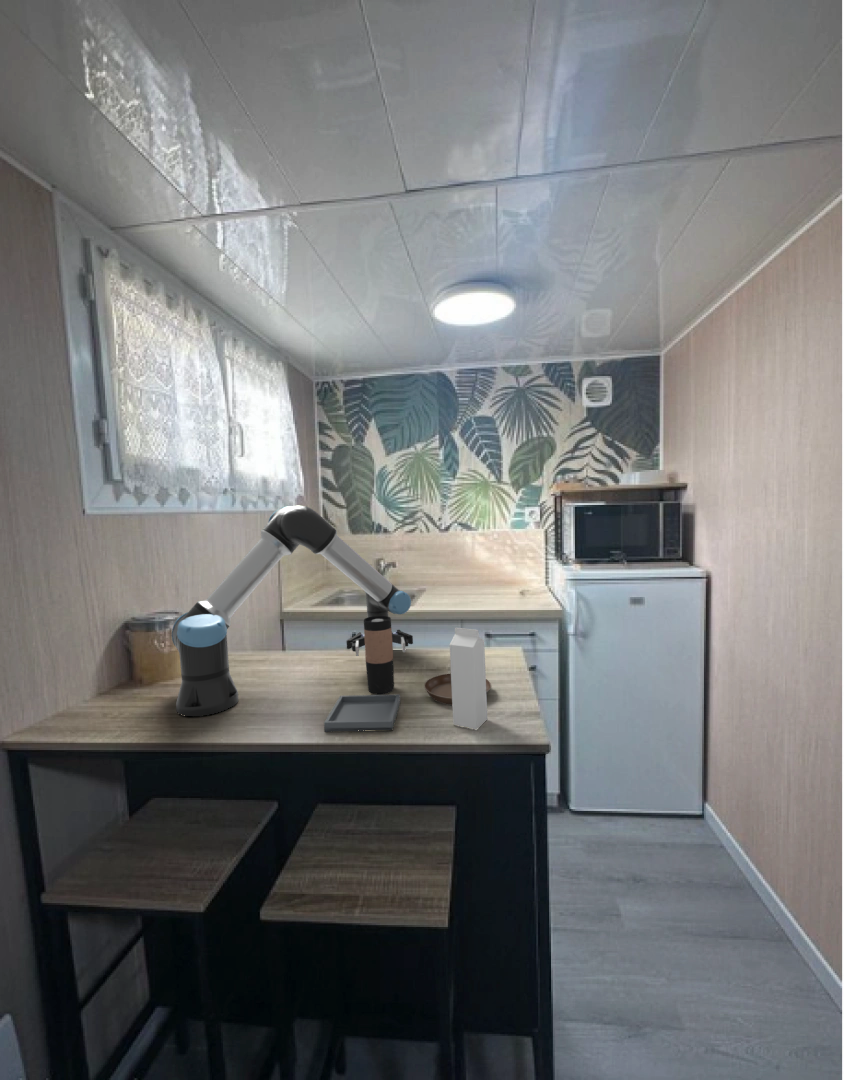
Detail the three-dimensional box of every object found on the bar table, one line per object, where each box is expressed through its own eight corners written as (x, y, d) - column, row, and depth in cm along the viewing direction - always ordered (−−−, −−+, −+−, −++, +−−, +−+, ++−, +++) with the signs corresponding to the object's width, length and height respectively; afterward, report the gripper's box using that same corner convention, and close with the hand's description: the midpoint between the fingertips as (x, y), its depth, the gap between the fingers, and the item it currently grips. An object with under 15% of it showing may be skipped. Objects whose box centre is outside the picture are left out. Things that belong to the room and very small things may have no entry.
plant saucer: (502, 689, 131) (501, 678, 131) (472, 714, 116) (471, 702, 116) (446, 679, 141) (445, 668, 140) (411, 701, 126) (411, 689, 126)
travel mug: (361, 690, 134) (357, 619, 133) (383, 682, 140) (380, 614, 138) (378, 697, 129) (374, 623, 127) (400, 689, 134) (396, 618, 132)
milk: (464, 715, 115) (460, 624, 114) (488, 720, 112) (484, 626, 111) (452, 725, 110) (448, 630, 109) (477, 731, 107) (472, 632, 106)
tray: (324, 731, 110) (324, 722, 110) (340, 703, 126) (340, 695, 125) (392, 730, 109) (391, 721, 109) (400, 702, 125) (399, 694, 124)
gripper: (416, 639, 163) (423, 658, 142) (341, 645, 160) (337, 665, 139) (415, 617, 162) (422, 633, 141) (340, 622, 160) (336, 640, 139)
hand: (380, 649), depth 140 cm, fingers open, 13 cm apart
